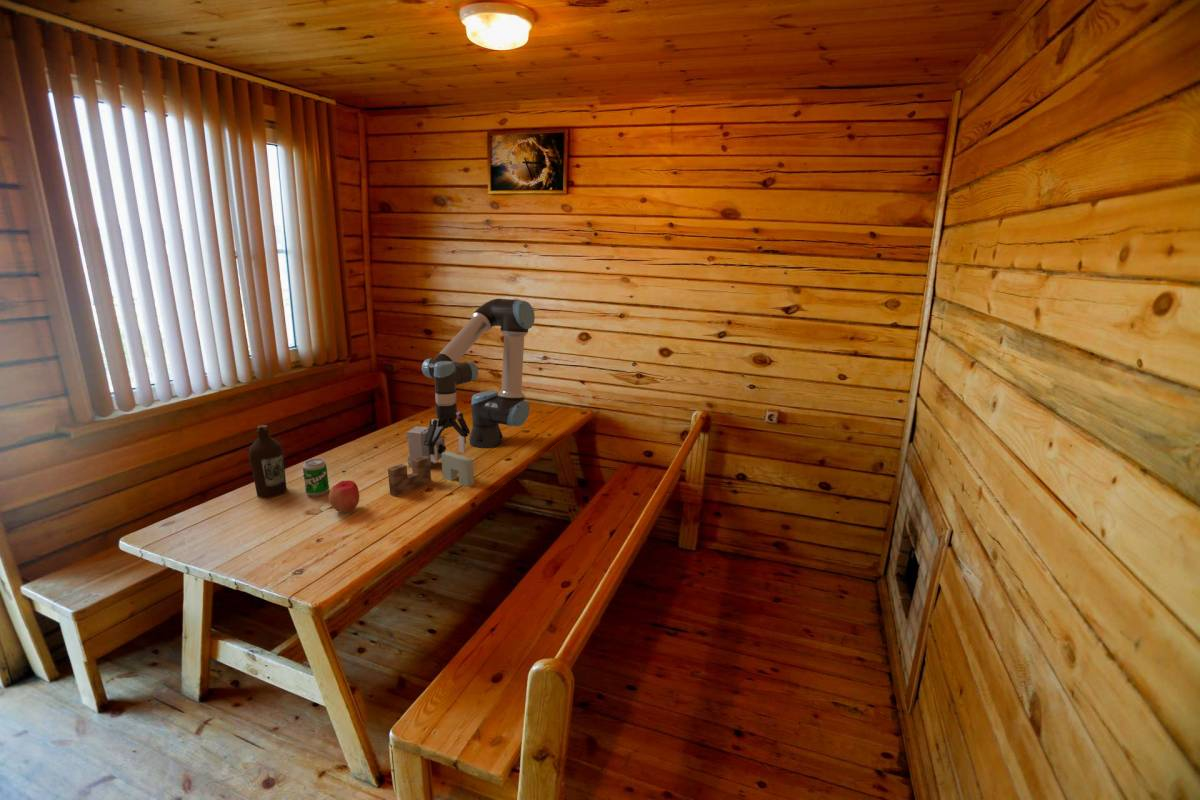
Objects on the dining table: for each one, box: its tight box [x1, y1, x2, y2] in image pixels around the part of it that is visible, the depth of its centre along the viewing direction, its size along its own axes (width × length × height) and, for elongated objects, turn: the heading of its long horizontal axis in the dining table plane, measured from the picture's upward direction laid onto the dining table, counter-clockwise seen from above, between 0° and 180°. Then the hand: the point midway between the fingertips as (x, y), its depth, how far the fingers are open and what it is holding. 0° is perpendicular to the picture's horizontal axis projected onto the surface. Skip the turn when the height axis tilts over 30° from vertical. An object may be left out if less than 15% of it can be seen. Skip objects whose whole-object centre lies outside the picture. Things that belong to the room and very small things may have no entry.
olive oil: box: [248, 424, 288, 499], centre depth 204 cm, size 11×11×25 cm
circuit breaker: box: [405, 426, 447, 469], centre depth 232 cm, size 8×14×15 cm, turn 78°
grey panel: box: [441, 450, 475, 487], centre depth 218 cm, size 14×3×10 cm, turn 55°
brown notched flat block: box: [387, 456, 432, 497], centre depth 211 cm, size 16×3×10 cm, turn 145°
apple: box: [328, 480, 360, 513], centre depth 193 cm, size 10×10×10 cm
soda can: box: [302, 458, 330, 497], centre depth 206 cm, size 8×8×12 cm
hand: (448, 457), depth 219 cm, fingers open, 13 cm apart
